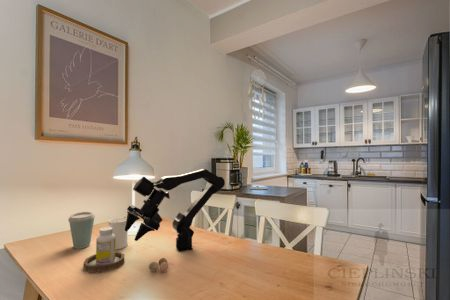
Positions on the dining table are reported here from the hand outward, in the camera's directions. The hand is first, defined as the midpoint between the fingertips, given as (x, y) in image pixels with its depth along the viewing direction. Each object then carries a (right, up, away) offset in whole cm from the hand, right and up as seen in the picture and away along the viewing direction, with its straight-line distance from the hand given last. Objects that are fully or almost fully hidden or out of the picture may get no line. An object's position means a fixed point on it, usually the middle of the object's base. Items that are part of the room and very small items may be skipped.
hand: (130, 235), depth 97 cm
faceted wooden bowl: (-8, -9, -5) cm, 13 cm away
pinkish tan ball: (+16, -8, -11) cm, 21 cm away
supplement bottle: (-8, -9, -5) cm, 13 cm away
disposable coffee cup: (-28, -10, +13) cm, 33 cm away
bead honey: (+15, -8, -7) cm, 18 cm away
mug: (-12, -10, +13) cm, 20 cm away
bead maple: (+13, -8, -10) cm, 18 cm away
